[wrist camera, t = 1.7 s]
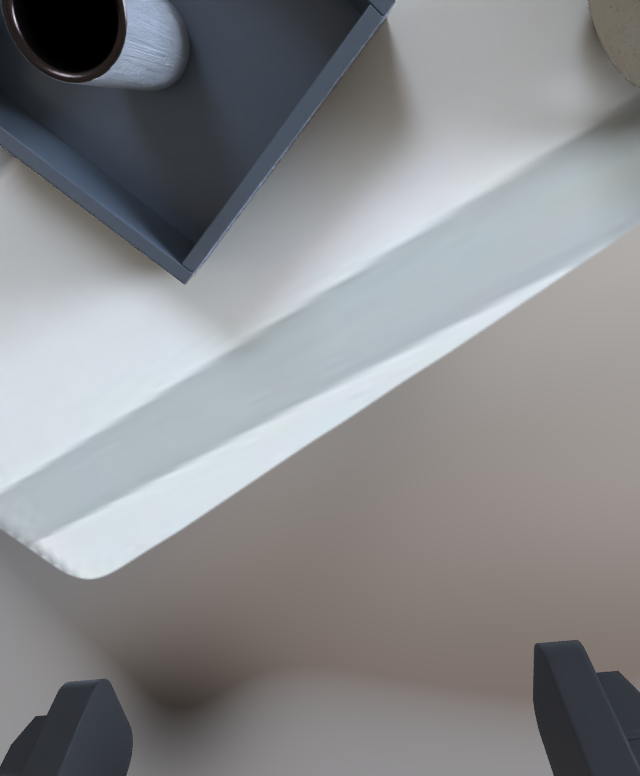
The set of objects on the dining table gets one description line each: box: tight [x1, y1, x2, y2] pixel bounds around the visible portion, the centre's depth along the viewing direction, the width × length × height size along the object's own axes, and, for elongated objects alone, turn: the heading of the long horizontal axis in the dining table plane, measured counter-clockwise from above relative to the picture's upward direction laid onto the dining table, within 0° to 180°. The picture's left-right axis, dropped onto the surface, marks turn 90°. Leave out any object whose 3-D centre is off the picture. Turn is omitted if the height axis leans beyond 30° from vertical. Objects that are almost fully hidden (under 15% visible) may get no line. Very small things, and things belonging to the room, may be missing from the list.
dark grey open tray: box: [0, 0, 395, 284], centre depth 28 cm, size 17×16×5 cm
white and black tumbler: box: [1, 0, 190, 91], centre depth 25 cm, size 4×4×10 cm
